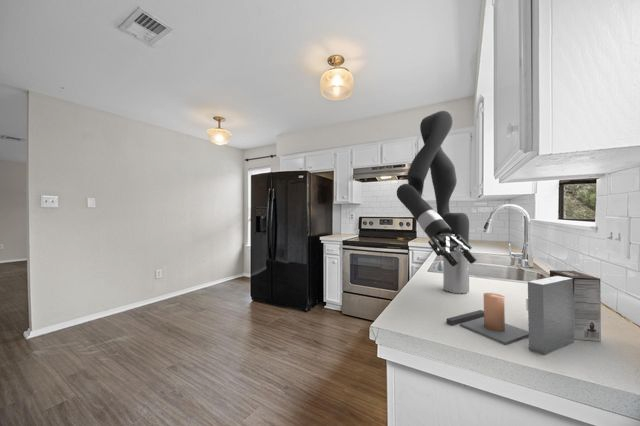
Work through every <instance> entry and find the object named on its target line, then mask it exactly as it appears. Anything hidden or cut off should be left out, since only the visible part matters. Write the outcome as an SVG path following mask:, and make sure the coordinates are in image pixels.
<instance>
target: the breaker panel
mask: <svg viewBox="0 0 640 426" xmlns="http://www.w3.org/2000/svg"><path fill="white" fill-rule="evenodd" d="M525 302H526V303H525V306H526V307H525V308H526V309H525V310H526V311H527V312H528V314H527V315H528V317H527V318H528V332H529V336H528V349H529V350H531V351H533V352H535V353H537V354H540V355H543V356H545V355H548V354H550V353H553V352H555V351H558V350H560V349H561V348H564V347H566V346H569V345H570V344H571V345H572V344H573V343H574V342H575V339H574V317H573V278H568V277H562V276H554V277H550V276H549V277H544V278H540V279H534V280H529V281H527V297H526V298H525Z"/></svg>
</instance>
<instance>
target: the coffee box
mask: <svg viewBox="0 0 640 426" xmlns="http://www.w3.org/2000/svg"><path fill="white" fill-rule="evenodd" d="M554 276H562V277H568V278H573V317H574V340H582V341H592V342H593V341H595V342H601V341H602V324H601V323H602V322H601V321H602V312H601V311H602V308H601V307H602V306H601V305H602V303H601V302H602V300H601V299H602V297H601V292H602V291H601V290H602V289H601V288H602V287H601V285H602V284H601V278H600V277H595V276H592V275H589V274H585V273H583V272H580V271H575V270H553V269H552V270H549V277H554Z"/></svg>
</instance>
